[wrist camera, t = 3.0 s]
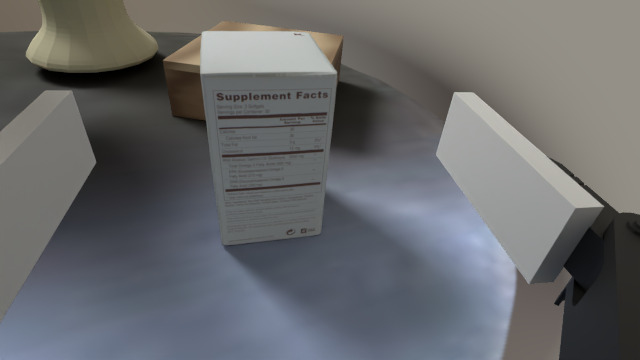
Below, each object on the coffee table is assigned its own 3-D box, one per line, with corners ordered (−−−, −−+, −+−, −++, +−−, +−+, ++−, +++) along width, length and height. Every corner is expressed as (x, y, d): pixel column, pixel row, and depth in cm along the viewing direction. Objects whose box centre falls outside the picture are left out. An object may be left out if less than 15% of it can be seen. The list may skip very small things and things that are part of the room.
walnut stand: (172, 115, 40) (162, 60, 37) (227, 65, 53) (223, 20, 49) (318, 137, 39) (323, 82, 35) (338, 80, 52) (343, 35, 48)
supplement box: (217, 184, 32) (199, 28, 24) (304, 178, 33) (313, 29, 26) (218, 249, 26) (195, 71, 18) (323, 237, 27) (341, 70, 20)
